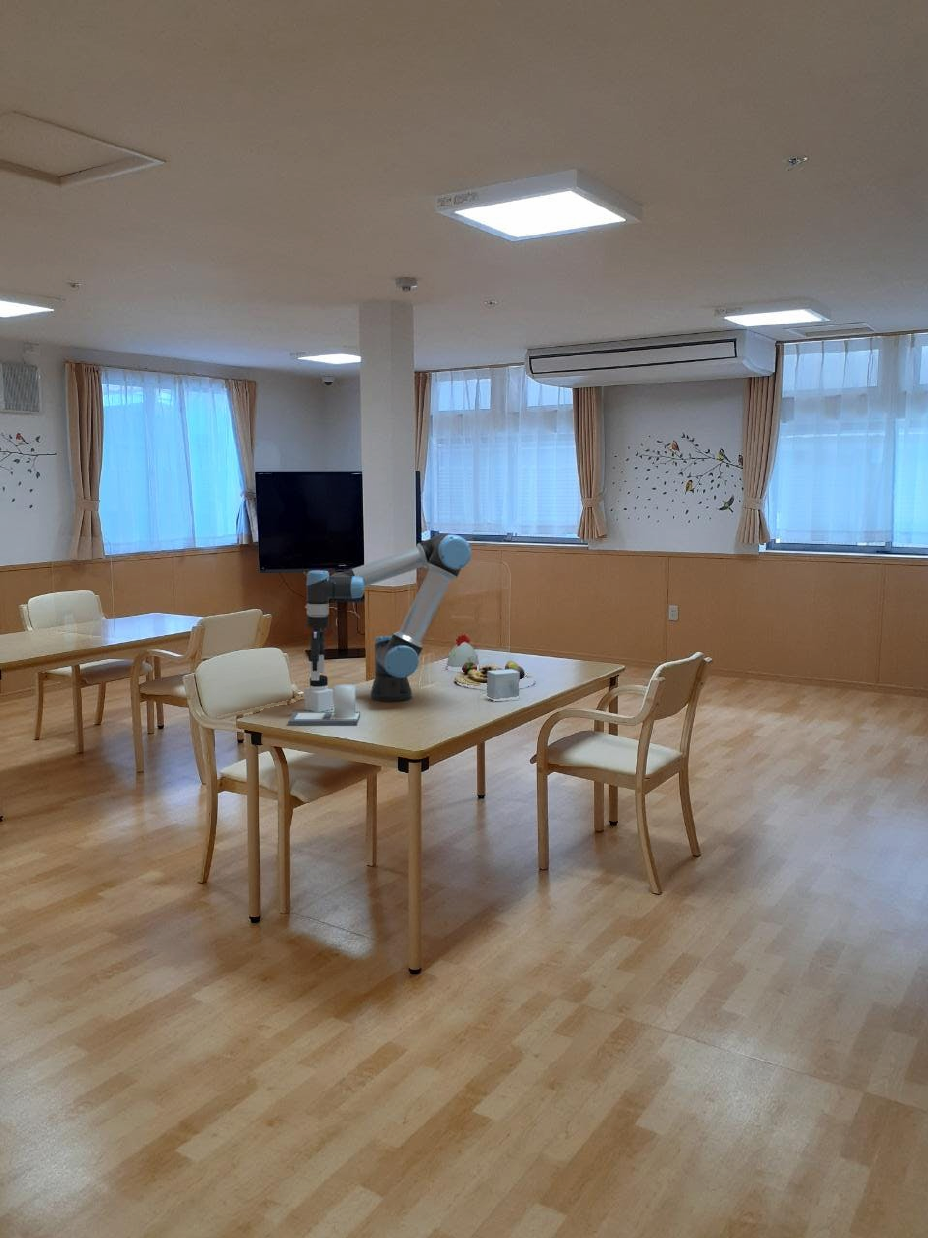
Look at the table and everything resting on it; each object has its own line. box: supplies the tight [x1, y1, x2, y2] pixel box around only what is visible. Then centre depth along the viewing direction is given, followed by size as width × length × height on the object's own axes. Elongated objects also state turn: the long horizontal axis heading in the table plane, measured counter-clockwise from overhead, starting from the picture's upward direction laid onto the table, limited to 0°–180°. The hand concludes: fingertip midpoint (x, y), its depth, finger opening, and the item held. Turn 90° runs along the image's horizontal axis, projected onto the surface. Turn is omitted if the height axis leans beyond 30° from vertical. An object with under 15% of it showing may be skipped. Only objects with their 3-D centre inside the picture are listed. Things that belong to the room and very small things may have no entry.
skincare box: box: [486, 669, 520, 699], centre depth 370 cm, size 10×6×10 cm, turn 115°
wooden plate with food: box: [454, 660, 534, 686], centre depth 403 cm, size 32×32×8 cm
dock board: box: [288, 711, 361, 727], centre depth 336 cm, size 22×14×2 cm, turn 91°
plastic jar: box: [333, 683, 356, 718], centre depth 335 cm, size 7×7×10 cm
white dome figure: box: [446, 634, 480, 667], centre depth 431 cm, size 14×14×15 cm
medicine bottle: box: [304, 674, 334, 712], centre depth 352 cm, size 7×7×12 cm
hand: (317, 676), depth 351 cm, fingers open, 13 cm apart
